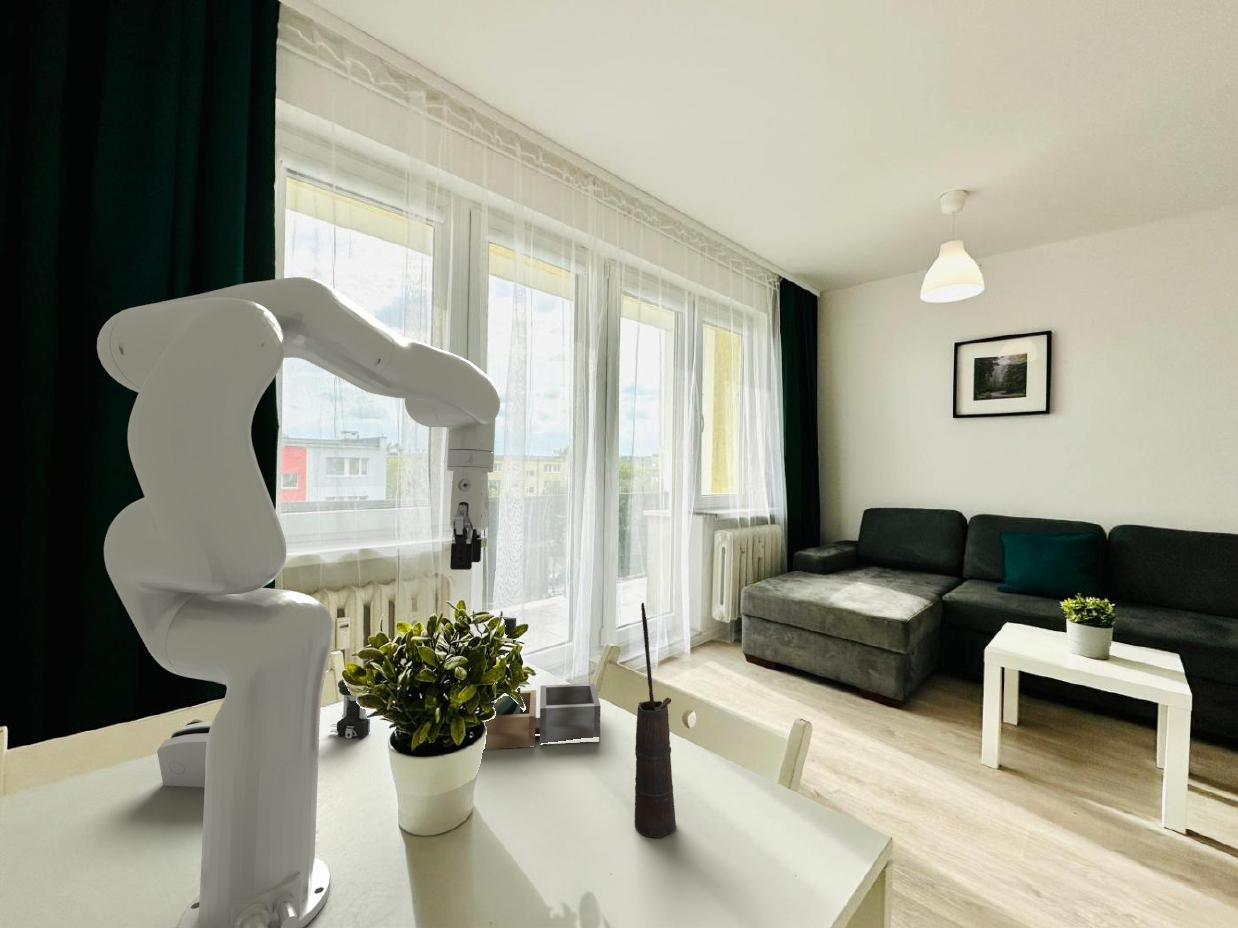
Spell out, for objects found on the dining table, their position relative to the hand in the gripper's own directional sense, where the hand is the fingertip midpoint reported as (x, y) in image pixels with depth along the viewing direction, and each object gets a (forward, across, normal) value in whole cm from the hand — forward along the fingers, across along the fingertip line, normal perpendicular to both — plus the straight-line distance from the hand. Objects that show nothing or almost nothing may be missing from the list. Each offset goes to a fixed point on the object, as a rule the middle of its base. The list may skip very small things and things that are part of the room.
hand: (466, 565), depth 88 cm
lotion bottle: (+29, +4, -7) cm, 30 cm away
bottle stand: (+29, +5, -12) cm, 32 cm away
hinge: (+30, -7, +31) cm, 44 cm away
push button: (+30, +6, +19) cm, 36 cm away
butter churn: (+30, -21, -29) cm, 47 cm away
